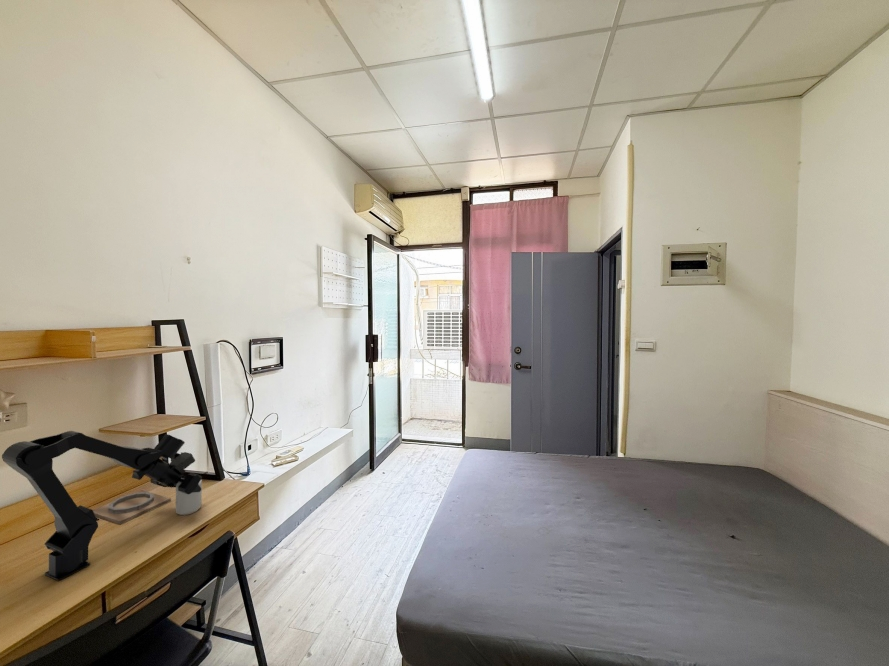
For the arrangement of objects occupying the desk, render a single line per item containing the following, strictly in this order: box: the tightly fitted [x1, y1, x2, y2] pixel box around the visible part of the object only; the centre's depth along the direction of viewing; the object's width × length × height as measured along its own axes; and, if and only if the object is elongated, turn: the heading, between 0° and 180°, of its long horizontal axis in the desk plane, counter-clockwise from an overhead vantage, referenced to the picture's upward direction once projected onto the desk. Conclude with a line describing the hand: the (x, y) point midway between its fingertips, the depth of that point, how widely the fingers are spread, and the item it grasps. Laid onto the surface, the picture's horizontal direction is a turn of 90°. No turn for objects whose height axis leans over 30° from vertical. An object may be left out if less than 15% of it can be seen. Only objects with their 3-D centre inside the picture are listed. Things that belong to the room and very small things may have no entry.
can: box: [175, 478, 203, 516], centre depth 123 cm, size 8×8×12 cm
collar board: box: [92, 490, 172, 526], centre depth 124 cm, size 16×16×3 cm
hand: (192, 488), depth 125 cm, fingers closed on can, 7 cm apart
